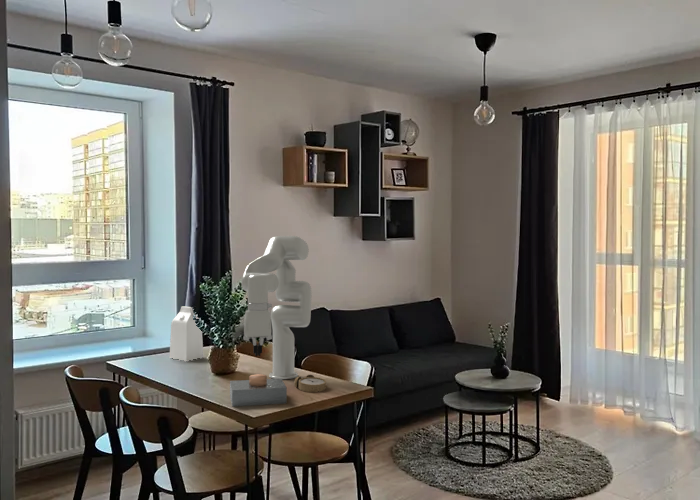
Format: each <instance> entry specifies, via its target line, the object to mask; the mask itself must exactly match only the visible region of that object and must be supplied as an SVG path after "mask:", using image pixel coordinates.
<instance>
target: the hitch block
mask: <svg viewBox="0 0 700 500" xmlns="http://www.w3.org/2000/svg"><path fill="white" fill-rule="evenodd" d="M287 391H288V390H287V386H286V383H284V380H283V379H273V378H267V384H266V385H264V386H251V385H249V379H246V380H244V379H243V380H230V381H229V398H230V402H231V406H232V407H233V408H234V407H246V406H247V407H248V406H262V405H265V406H266V405H279V404H282V405H284V404H287Z"/></svg>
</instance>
